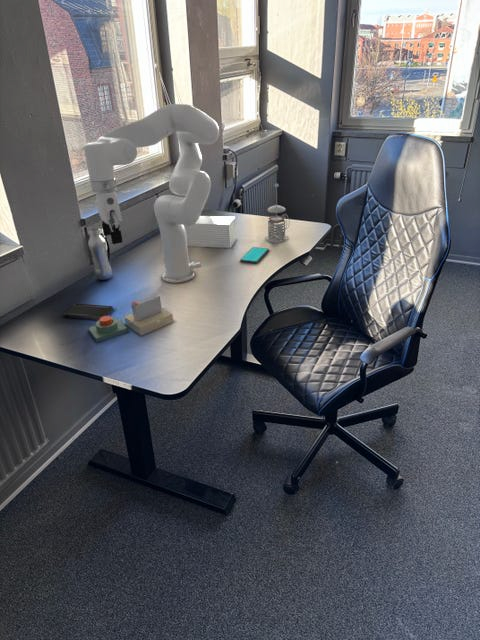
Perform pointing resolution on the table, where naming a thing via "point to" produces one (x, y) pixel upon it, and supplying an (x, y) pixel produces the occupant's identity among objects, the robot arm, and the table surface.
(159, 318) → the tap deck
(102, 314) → the phone
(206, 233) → the white storage box
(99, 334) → the button box
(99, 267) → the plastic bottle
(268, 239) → the french press
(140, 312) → the grey block
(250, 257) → the smartphone
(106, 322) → the button
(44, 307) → the table surface
